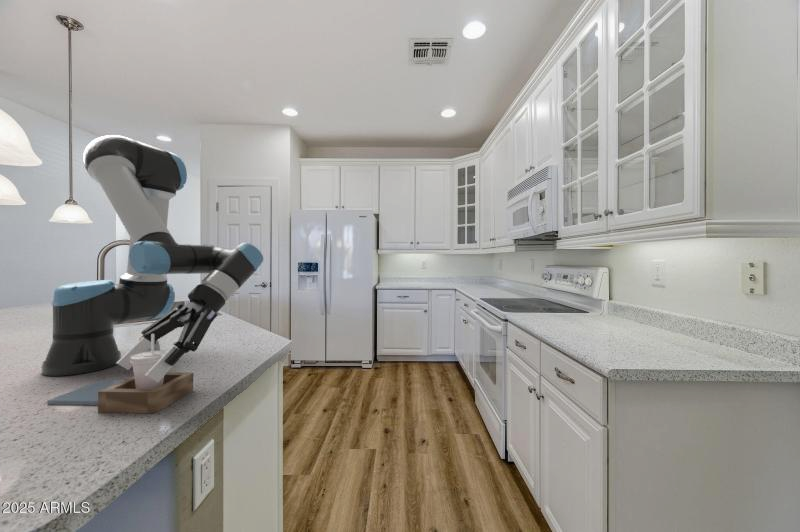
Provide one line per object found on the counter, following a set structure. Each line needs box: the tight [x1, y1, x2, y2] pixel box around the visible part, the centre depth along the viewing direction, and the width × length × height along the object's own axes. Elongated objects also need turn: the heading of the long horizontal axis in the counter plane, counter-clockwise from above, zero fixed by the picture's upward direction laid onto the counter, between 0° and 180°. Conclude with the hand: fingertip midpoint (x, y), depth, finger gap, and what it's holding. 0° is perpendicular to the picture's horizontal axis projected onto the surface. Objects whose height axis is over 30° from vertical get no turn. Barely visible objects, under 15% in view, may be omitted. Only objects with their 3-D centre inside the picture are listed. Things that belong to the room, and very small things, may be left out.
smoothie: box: [130, 334, 168, 389], centre depth 65 cm, size 6×6×14 cm
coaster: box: [46, 379, 123, 406], centre depth 68 cm, size 11×11×1 cm
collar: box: [97, 371, 194, 414], centre depth 65 cm, size 11×11×4 cm
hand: (135, 372), depth 63 cm, fingers open, 12 cm apart
